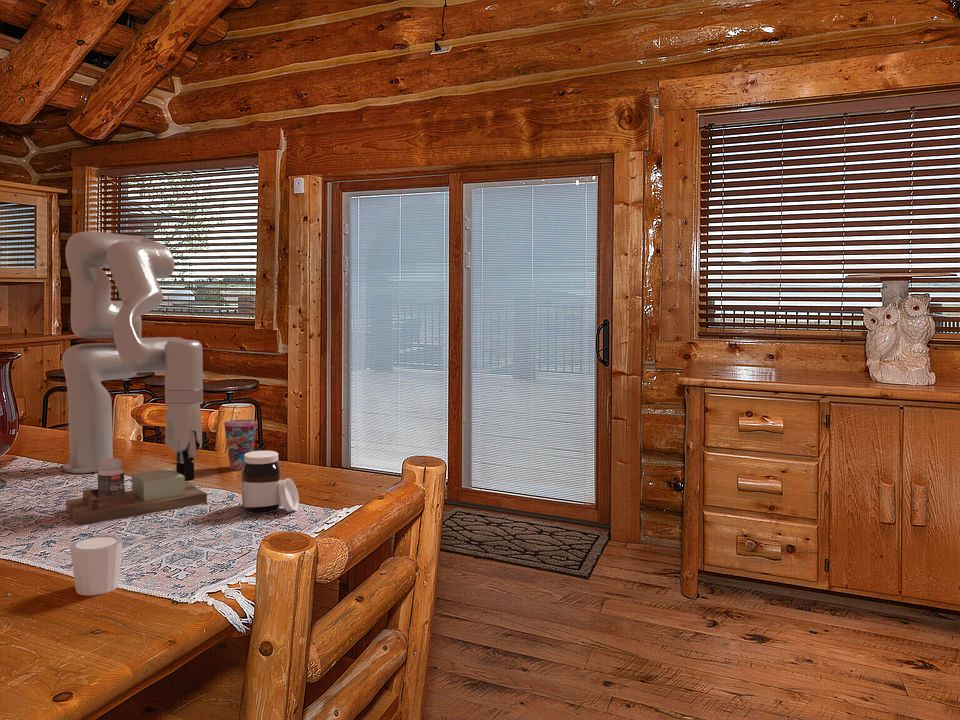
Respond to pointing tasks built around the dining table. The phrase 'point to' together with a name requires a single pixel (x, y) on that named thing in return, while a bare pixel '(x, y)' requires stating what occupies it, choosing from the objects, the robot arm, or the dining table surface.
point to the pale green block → (158, 484)
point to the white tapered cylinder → (96, 564)
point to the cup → (239, 440)
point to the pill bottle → (110, 478)
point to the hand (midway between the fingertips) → (185, 480)
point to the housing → (127, 504)
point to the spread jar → (266, 484)
